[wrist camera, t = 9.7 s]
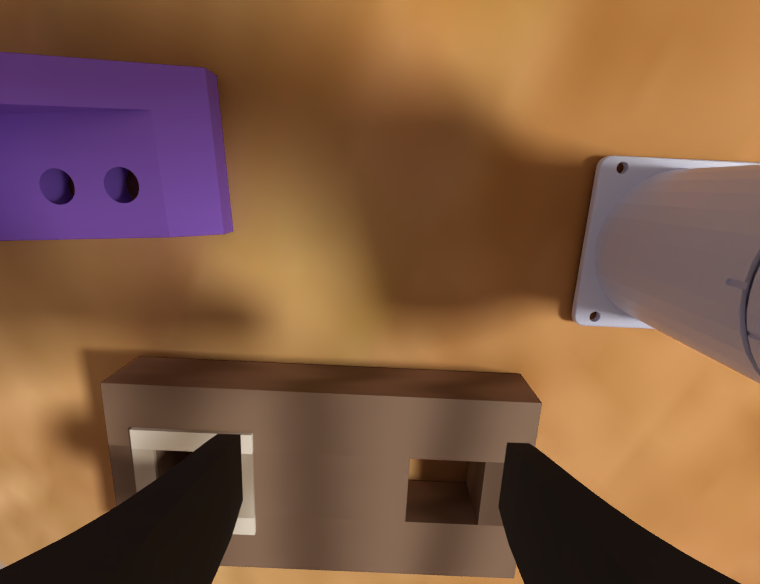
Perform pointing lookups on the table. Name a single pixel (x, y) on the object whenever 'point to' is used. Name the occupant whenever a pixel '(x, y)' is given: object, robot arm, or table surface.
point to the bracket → (109, 150)
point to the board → (333, 457)
